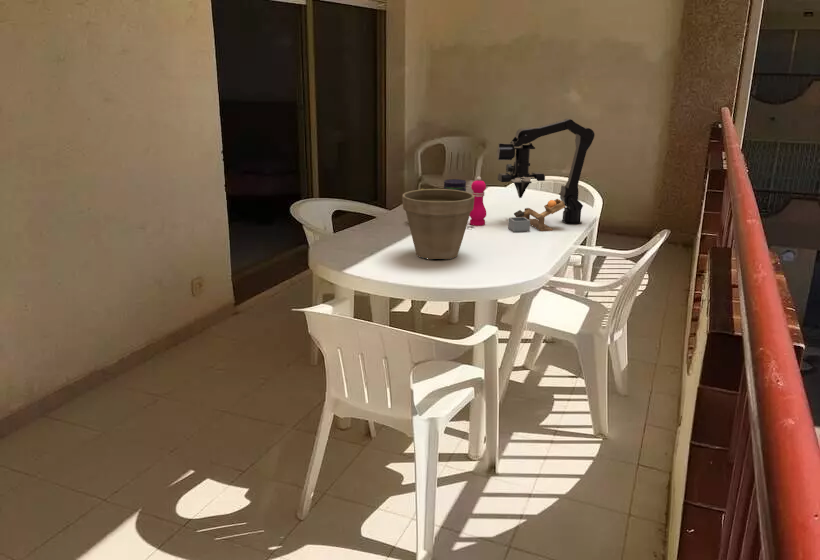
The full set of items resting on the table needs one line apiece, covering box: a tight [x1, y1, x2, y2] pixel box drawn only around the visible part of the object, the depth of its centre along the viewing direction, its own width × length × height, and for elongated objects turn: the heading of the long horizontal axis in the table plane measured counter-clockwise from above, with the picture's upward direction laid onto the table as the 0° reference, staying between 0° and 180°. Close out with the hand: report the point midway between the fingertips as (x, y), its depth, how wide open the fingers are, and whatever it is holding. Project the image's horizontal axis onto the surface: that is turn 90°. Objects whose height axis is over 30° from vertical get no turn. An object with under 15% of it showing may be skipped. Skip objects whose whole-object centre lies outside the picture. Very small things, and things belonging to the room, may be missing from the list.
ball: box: [546, 199, 556, 208], centre depth 268 cm, size 4×4×4 cm
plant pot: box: [401, 188, 474, 260], centre depth 232 cm, size 25×25×22 cm
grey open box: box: [507, 216, 531, 233], centre depth 268 cm, size 7×7×4 cm
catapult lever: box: [513, 198, 566, 220], centre depth 273 cm, size 17×16×3 cm
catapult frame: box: [524, 207, 553, 232], centre depth 275 cm, size 6×18×6 cm, turn 11°
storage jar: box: [443, 178, 467, 192], centre depth 292 cm, size 10×10×15 cm
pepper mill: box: [469, 176, 487, 227], centre depth 275 cm, size 7×7×20 cm
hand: (520, 197), depth 276 cm, fingers closed
